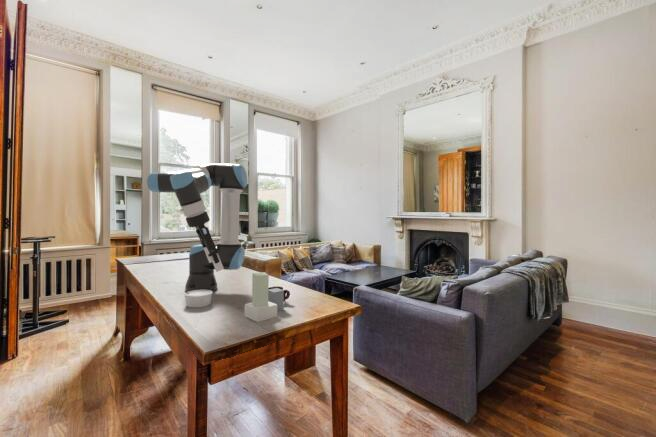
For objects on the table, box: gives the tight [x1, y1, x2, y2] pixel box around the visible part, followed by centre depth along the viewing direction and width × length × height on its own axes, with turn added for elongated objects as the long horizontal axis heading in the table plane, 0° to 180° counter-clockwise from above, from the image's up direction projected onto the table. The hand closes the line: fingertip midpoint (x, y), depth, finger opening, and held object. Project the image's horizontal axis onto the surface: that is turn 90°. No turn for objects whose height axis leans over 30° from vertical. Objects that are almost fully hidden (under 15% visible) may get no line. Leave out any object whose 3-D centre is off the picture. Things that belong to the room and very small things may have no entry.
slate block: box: [268, 288, 285, 312], centre depth 127 cm, size 5×5×8 cm
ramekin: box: [184, 289, 214, 309], centre depth 130 cm, size 11×11×5 cm
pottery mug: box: [268, 285, 291, 302], centre depth 137 cm, size 12×10×8 cm
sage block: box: [251, 271, 270, 307], centre depth 118 cm, size 5×5×12 cm
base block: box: [244, 301, 278, 323], centre depth 118 cm, size 9×9×5 cm
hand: (216, 265), depth 115 cm, fingers open, 13 cm apart
